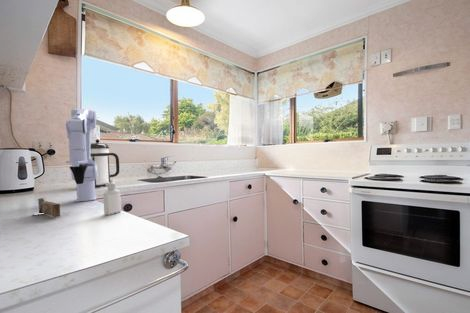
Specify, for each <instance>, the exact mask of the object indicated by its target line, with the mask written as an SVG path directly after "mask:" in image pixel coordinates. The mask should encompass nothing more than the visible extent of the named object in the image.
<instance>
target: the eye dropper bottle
mask: <svg viewBox="0 0 470 313" xmlns="http://www.w3.org/2000/svg"><path fill="white" fill-rule="evenodd" d="M102 195H103V197H102V198H103V212H104V213H103V214H104V215H105V214H106V216H111V215H110V214H112V215H115V214H114V213H116V214H119V213H121V212H122V200H121V195H122V194H121V190H120V189H117V188H116V182H114V181H113V179H111V178H110V182H109V183H108V184H107V190H106V191H104V192H103V194H102ZM120 211H121V212H120ZM118 212H119V213H118Z"/></svg>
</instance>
